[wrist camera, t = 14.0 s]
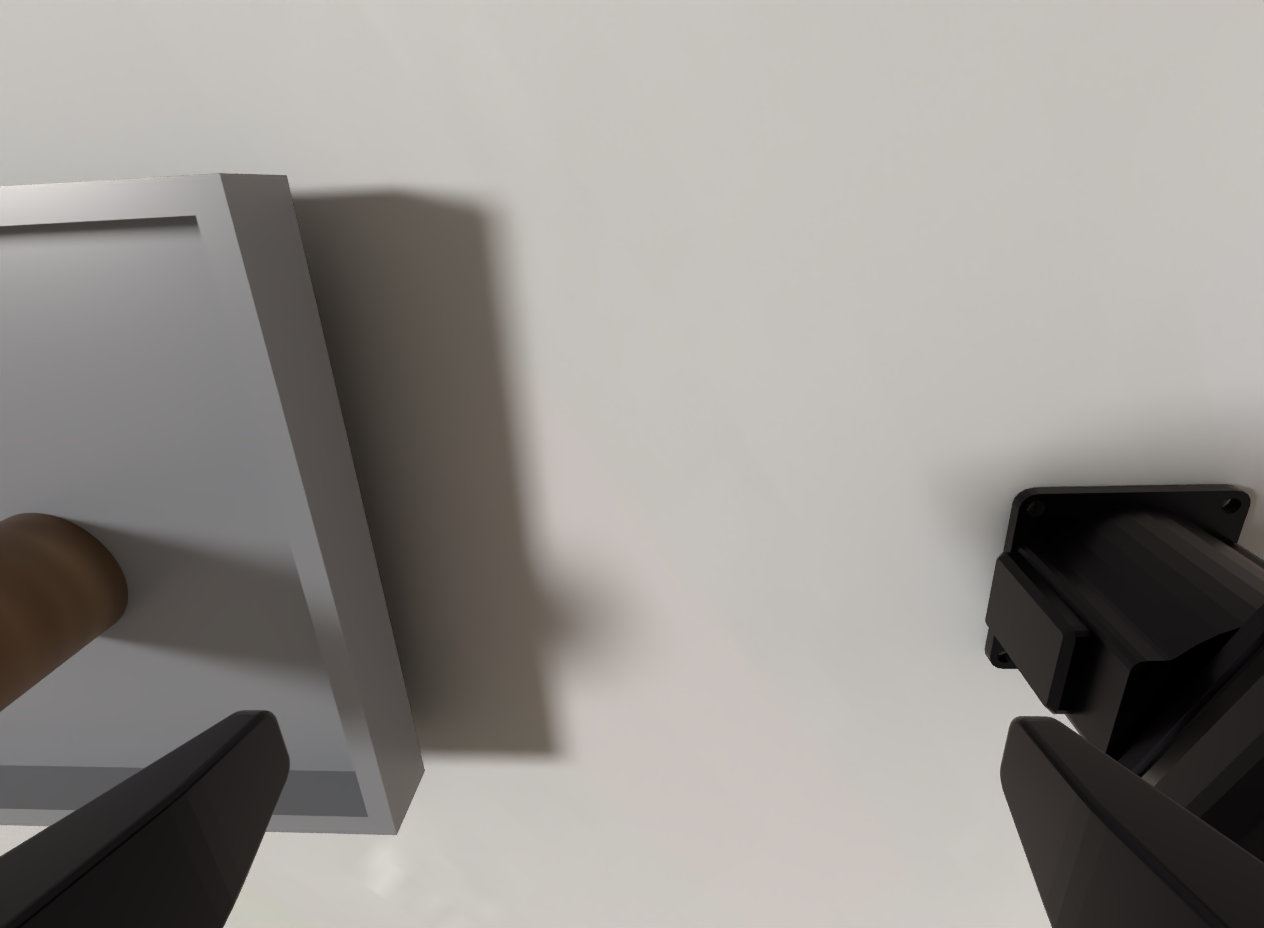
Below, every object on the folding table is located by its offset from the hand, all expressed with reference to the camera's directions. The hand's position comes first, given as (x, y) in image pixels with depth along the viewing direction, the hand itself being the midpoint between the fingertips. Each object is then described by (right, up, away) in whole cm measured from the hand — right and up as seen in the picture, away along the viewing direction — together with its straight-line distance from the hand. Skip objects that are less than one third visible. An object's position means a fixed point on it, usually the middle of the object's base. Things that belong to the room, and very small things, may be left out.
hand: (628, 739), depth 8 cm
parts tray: (-18, +2, +15) cm, 23 cm away
